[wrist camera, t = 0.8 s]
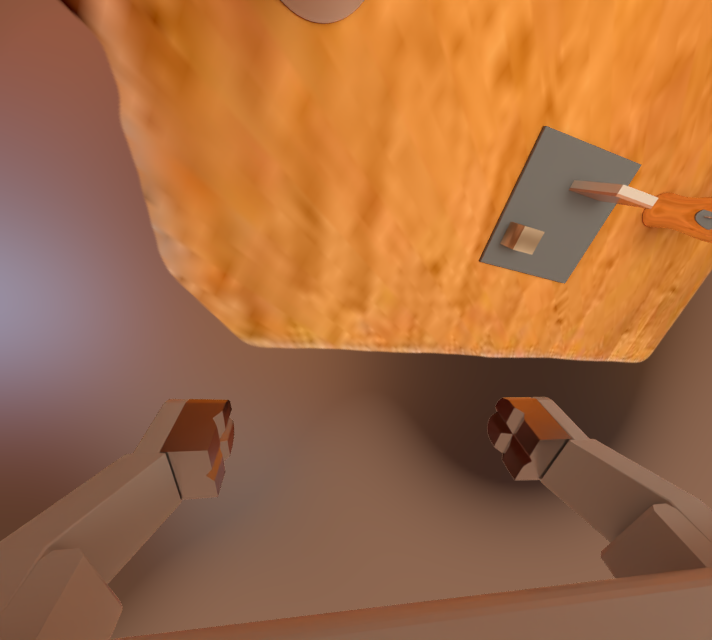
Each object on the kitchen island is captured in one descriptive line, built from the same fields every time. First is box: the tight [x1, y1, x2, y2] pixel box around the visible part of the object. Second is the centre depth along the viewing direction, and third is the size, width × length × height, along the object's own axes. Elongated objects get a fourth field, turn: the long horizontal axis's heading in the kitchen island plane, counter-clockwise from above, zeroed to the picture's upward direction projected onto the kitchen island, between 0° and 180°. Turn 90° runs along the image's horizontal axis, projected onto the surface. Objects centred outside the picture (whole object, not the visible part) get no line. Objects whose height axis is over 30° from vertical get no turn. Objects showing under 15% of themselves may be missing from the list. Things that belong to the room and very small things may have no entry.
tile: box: [569, 180, 658, 209], centre depth 46 cm, size 2×7×9 cm, turn 75°
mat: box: [479, 126, 641, 283], centre depth 52 cm, size 22×20×1 cm
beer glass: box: [642, 193, 712, 243], centre depth 47 cm, size 7×7×15 cm
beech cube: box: [500, 222, 545, 255], centre depth 50 cm, size 4×4×4 cm
